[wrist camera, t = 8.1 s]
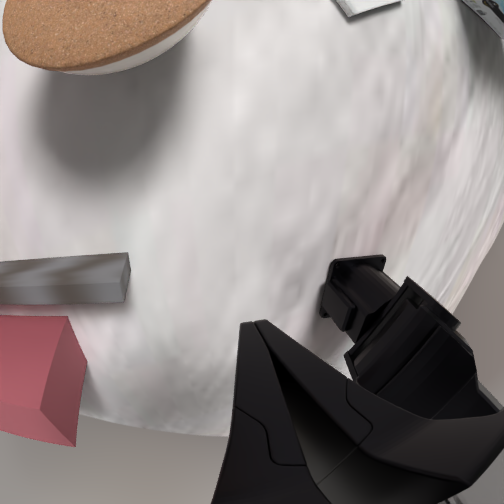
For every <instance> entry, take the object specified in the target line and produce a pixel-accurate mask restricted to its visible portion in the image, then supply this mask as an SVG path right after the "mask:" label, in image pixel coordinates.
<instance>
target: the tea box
mask: <svg viewBox="0 0 504 504" xmlns="http://www.w3.org/2000/svg"><path fill="white" fill-rule="evenodd" d="M462 1H464V2H465V3H466V4H467V5H468V6H469V7H470V8H472V9H473V10H474V11H475V12H476V13H477V14H478V15H479V16H480V17H481V18H482V19H483V20H484V21H485V22H486V23H487V24H488V25H489V26H490V27H491V28H492V29H493V30H494V31H495V32H496V33H497V34H498V36H499V37H500V38H502V39H504V0H462Z"/></svg>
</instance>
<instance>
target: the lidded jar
mask: <svg viewBox="0 0 504 504" xmlns="http://www.w3.org/2000/svg"><path fill="white" fill-rule="evenodd" d="M212 1H213V0H7V1H6V4H5V8H4V14H3V34H4V38H5V42H6V44H7V46H8V48H9V49H10V51H11V52H12V53H13V54H14V55H15V56H16V57H17V58H18V59H19V60H21V61H23V62H25V63H27V64H28V65H31V66H34V67H38V68H42V69H45V70H50V71H60V72H63V73H67V74H77V75H103V74H109V73H115V72H120V71H123V70H127V69H131V68H134V67H136V66H139V65H141V64H144V63H146V62H148V61H150V60H152V59H154V58H156V57H158V56H159V55H161V54H163V53H164V52H166V51H167V50H169V49H170V48H172V47H173V46H174V45H175V44H176V43H178V42H179V41H180V40H181V39H183V38H184V37H185V36H186V35H187V34H188V33H189V32H190V31H191V30H192V29H193V28H194V27H195V25H196V24H197V23H198V22H199V20H200V19H201V18H202V16H203V15H204V14H205V12H206V11H207V9H208V7H209V6H210V4H211V2H212Z"/></svg>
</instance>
